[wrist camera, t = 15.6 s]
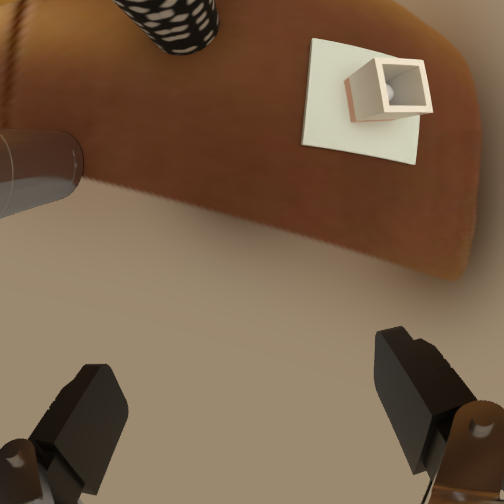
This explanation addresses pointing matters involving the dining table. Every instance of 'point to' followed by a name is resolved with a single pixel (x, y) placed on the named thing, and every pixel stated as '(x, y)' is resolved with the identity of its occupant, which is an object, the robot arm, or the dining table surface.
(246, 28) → the dining table surface
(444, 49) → the dining table surface
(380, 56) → the pin board
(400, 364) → the robot arm
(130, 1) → the spotted tube
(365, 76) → the sleeve
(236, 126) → the dining table surface
